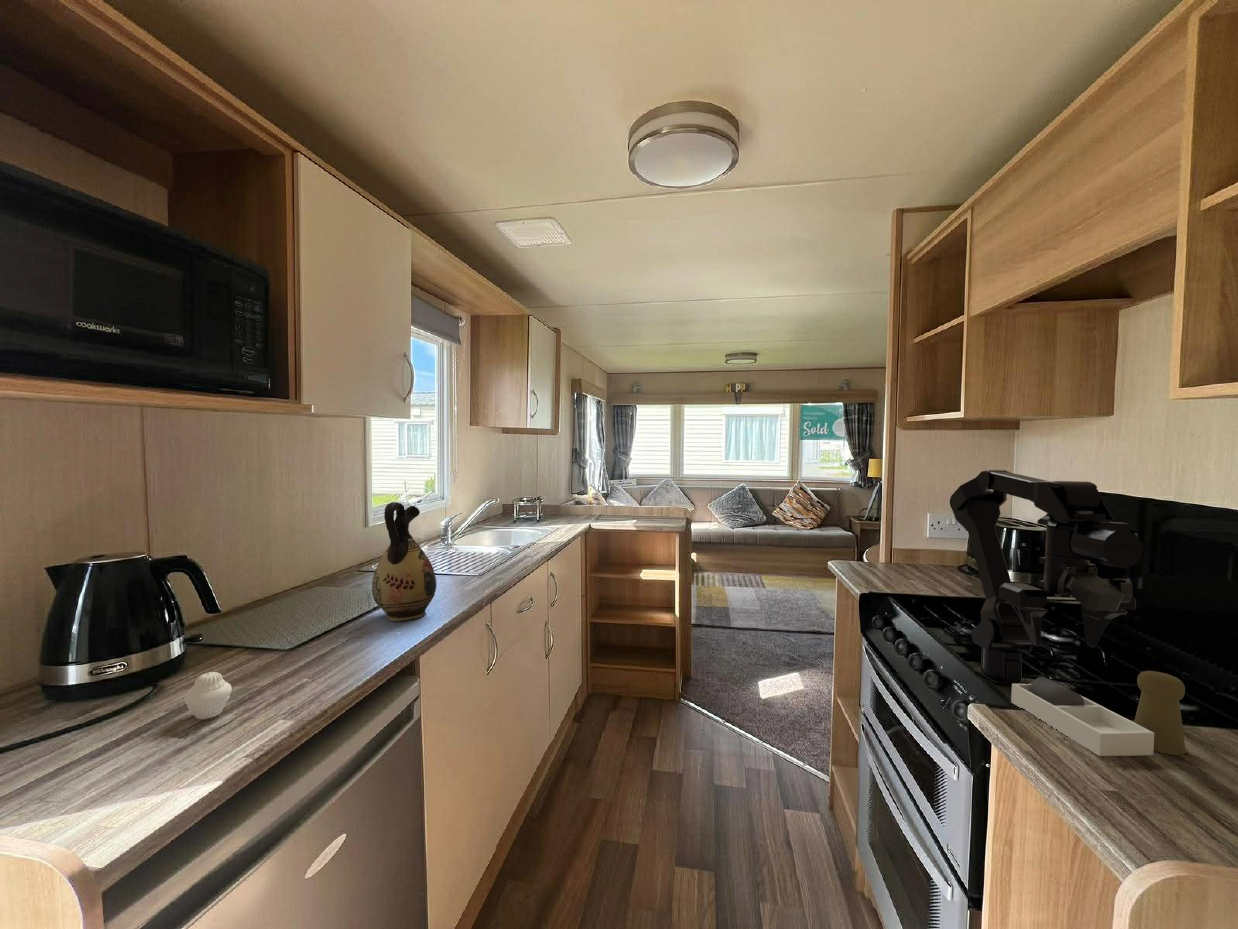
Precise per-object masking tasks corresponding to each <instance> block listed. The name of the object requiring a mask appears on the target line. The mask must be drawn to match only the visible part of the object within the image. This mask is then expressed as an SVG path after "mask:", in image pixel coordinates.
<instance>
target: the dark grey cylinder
mask: <svg viewBox="0 0 1238 929" xmlns="http://www.w3.org/2000/svg"><path fill="white" fill-rule="evenodd" d="M1032 681H1033V682H1032V683H1031V684H1032V685H1031V693H1033V694H1034V695H1036V696H1038V697H1040V698H1042V699H1043V700H1045V701H1047V702H1049V703H1051V704H1052V705H1054V706H1069V705H1084V700H1083V698H1082V694H1080V693H1077V692H1076V691H1073V690H1072V689H1070V688H1067V687H1065V686H1063V685H1062V684H1060V683H1057V682H1056V681H1053V680H1051V679H1049V678H1047V677H1045V676H1041V677H1040V676H1039V677H1037V678H1035V679H1034V680H1032Z"/></svg>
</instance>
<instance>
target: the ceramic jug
mask: <svg viewBox="0 0 1238 929" xmlns="http://www.w3.org/2000/svg"><path fill="white" fill-rule="evenodd" d="M420 513H421V511H420V509H419V508H418V507H417V506H415V505H410V506H408V507H406V508H405V506H404V505H403V504H402V503H401V502H397V501H391V502H390V503H387V504H386V505H385V507H384V512H383V514H384V523H385V525H386V526H385V527H386V530H387V533H388V539H389V540H390V543H389V545H388V547H386V549H385V551H384V553H383V554H382V556H381V558H380V560H379V561H378V563H377V565H376V568H375V570H374V573H373V575H372V576H373V577H372V582H371V591H372V592H371V593H372V597H373V601H374V603H375V604H376V606H378V607H379V609H381V610H382V611H383V612H384V614H385V615H386V617H387V619H388V620H389V621H391V622H397V621H398V622H399V621H407V620H415V619H420V618H421V617H423V616H426V615H427V613H426V609H427V608H428V607H429V605H430V604H431V602H432V601H433V599H434V597H435V595H436V590H437V578H436V573H435V570H434V567H433V564H432V563H431V560H430V559H429V557H428V556H427V555H426V552H424V550H423V549H422V548H421V546H420V545H419V543H418V542H416V541H415V540H416V539H414V538H413V536H412V534H411V533H410V530H409V528H410V523H411V522H412V521H413V520H414V519H415V518H417V517H418V516H419V515H420ZM395 515H396V516H395Z"/></svg>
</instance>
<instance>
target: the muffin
mask: <svg viewBox="0 0 1238 929" xmlns="http://www.w3.org/2000/svg"><path fill="white" fill-rule="evenodd" d="M232 691H233V689H232V685H231V684H230V683H229V682H227V681H226V680H225V679H223V675H222V674H221V673H220V672H216V671H211V672H206V673H203V674H200V675H199V676H198V677H196V678H195V681H194V684H193V685H192V687H191V688H190V689H188V691H187V692H186V693H185V695H184V703H185V704H186V707H187V708H188V709H189V711H190V712H191V714H192V715H193V716H194V717H195V718H196V719H197V720H208V719H212V718H214V717H217V716H218V715H220V714H221V713H222V711H223V710H224V708H225V706H226V704H227V703H228V701H229V699H230V697H231V693H232Z"/></svg>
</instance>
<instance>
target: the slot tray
mask: <svg viewBox="0 0 1238 929" xmlns="http://www.w3.org/2000/svg"><path fill="white" fill-rule="evenodd" d="M1031 685H1032V683H1028V684H1011V695H1010V696H1011V698H1010V703H1012V704H1013V705H1015V706H1017V707H1018V708H1019V709H1021V708H1023V709H1025V710H1026V711H1028V712H1030V713H1032V714H1033V715H1035V716H1036V717H1037V718H1036V717H1035V718H1036V719H1038V720H1039V719H1041V720H1042V721H1041V720H1040V721H1041V722H1043V721H1044V722H1046V723H1047V724H1046V723H1045V724H1046V725H1048V726H1049V727H1051V726H1052V727H1053V729H1054V730H1056V729H1057V730H1058V731H1057V730H1056V731H1057V732H1059V733H1061V734H1062V733H1063V735H1064V736H1066V737H1067V736H1068V737H1067V738H1069V739H1071V740H1072V741H1074V742H1075V743H1077V744H1078V745H1080V746H1082V747H1084V748H1085V749H1087V750H1089V751H1091V753H1094V754H1095V755H1097V756H1099V757H1121V756H1122V757H1123V756H1128V757H1129V756H1130V757H1131V756H1154V750H1153V749H1154V732H1152V731H1150V730H1148V729H1146V728H1144V727H1142V726H1140V725H1138V724H1136V723H1134V721H1132V720H1130V719H1128V718H1126V717H1123V716H1122V715H1120V714H1118V713H1116V712H1114V711H1112V710H1110V709H1108V708H1106V707H1104V706H1102V705H1100V704H1099V703H1097V702H1095V701H1093V700H1090V699H1089V698H1087V697H1085V696H1082V695H1081V696H1082V698H1083V700H1084V705H1069V706H1054V705H1052V704H1051V703H1049V702H1047V701H1045V700H1043V699H1042V698H1040V697H1038V696H1036V695H1034V694H1033V693H1031ZM1023 709H1022V710H1023ZM1025 710H1024V711H1025ZM1026 711H1025V712H1026ZM1028 712H1027V713H1028ZM1030 713H1029V714H1030ZM1033 715H1032V716H1033ZM1044 722H1043V723H1044ZM1052 727H1051V728H1052Z"/></svg>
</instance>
